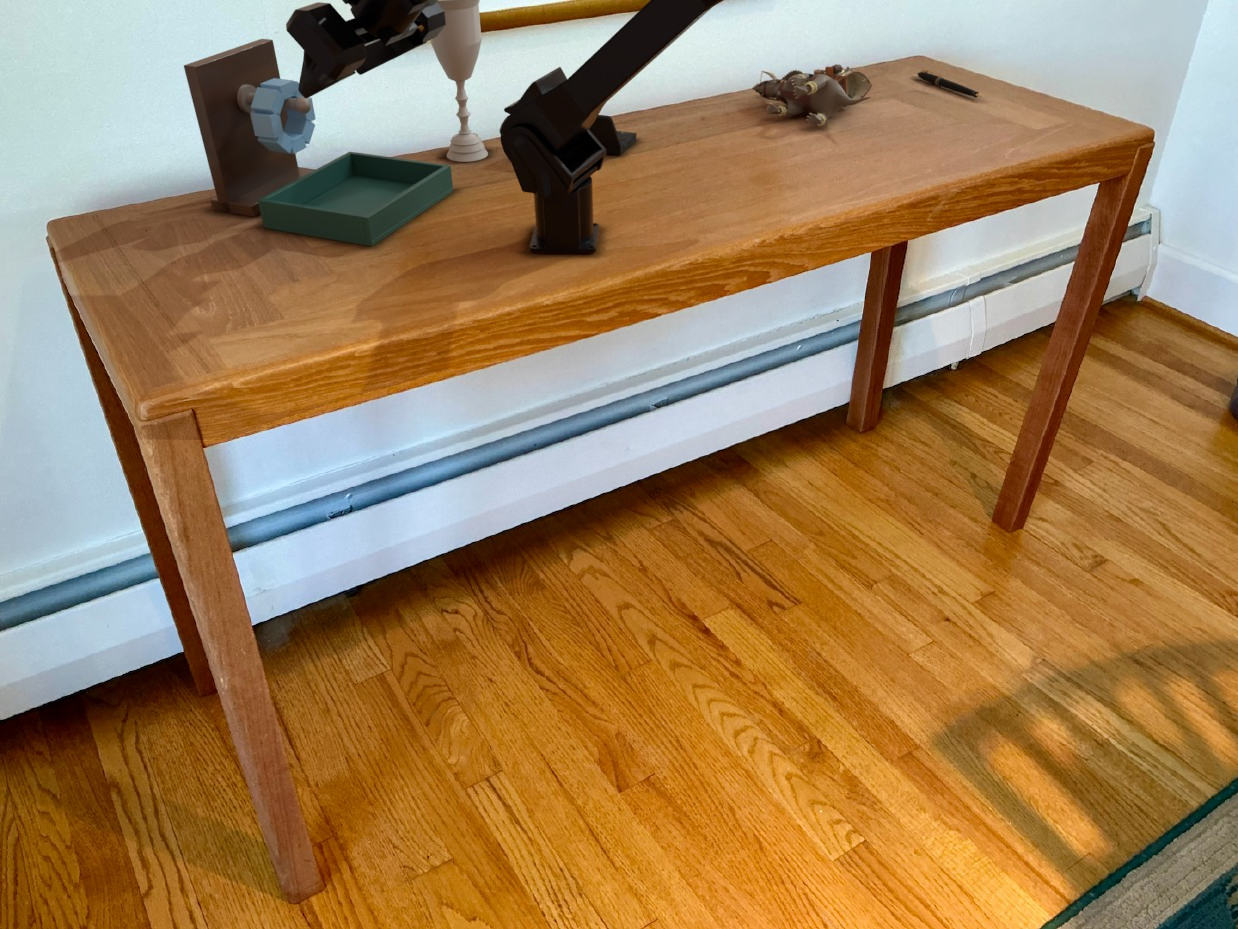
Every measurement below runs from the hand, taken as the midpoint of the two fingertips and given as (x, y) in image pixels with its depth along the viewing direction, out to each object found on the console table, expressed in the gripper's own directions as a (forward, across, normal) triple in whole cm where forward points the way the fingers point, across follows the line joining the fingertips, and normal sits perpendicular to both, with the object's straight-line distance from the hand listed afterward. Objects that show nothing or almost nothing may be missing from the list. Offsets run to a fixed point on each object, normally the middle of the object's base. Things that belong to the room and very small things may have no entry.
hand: (330, 82), depth 99 cm
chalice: (+7, -20, +12) cm, 24 cm away
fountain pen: (-29, -69, +48) cm, 89 cm away
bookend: (-2, -27, +20) cm, 34 cm away
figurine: (-18, -53, +37) cm, 67 cm away
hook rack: (+15, 0, +3) cm, 16 cm away
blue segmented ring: (+8, 0, -2) cm, 8 cm away
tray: (+8, 0, +10) cm, 13 cm away
